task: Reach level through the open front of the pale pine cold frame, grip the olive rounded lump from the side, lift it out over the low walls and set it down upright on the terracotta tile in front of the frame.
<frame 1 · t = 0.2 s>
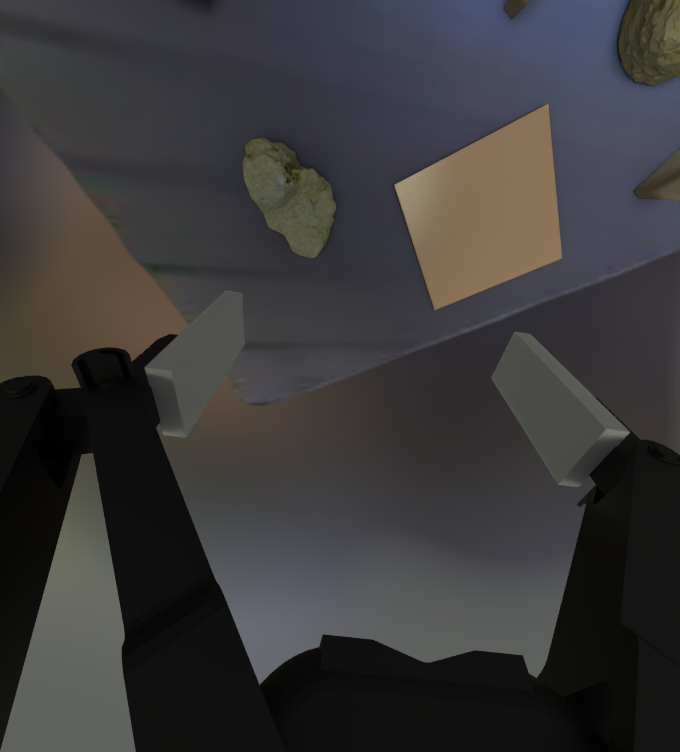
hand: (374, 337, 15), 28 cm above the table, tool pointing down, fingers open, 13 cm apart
rock: (292, 202, 37), on the table
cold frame: (668, 16, 28), on the table
olive rounded lump: (665, 18, 28), on the table
terracotta tile: (479, 222, 37), on the table
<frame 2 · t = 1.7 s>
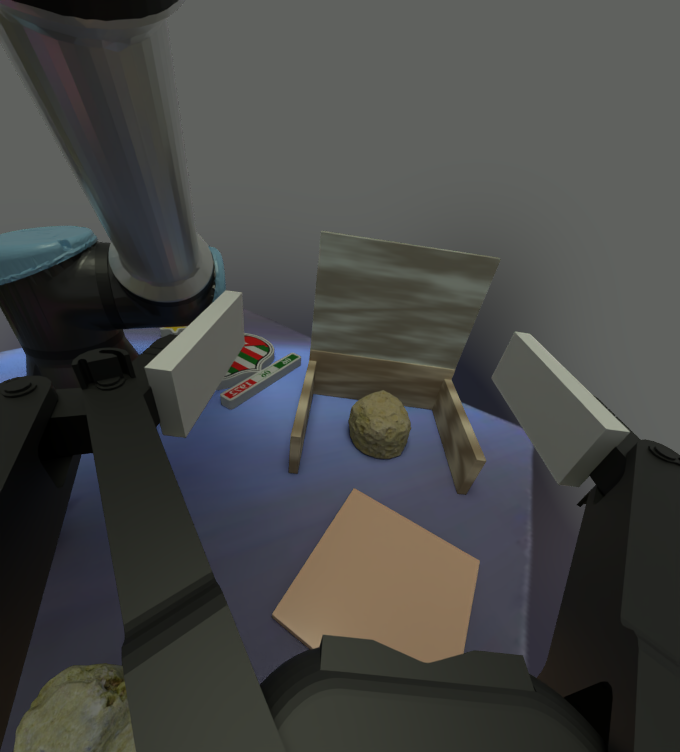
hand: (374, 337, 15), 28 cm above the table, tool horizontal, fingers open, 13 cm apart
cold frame: (375, 437, 49), on the table
olive rounded lump: (374, 439, 49), on the table
decorative emblem: (214, 357, 62), on the table
terracotta tile: (384, 588, 31), on the table
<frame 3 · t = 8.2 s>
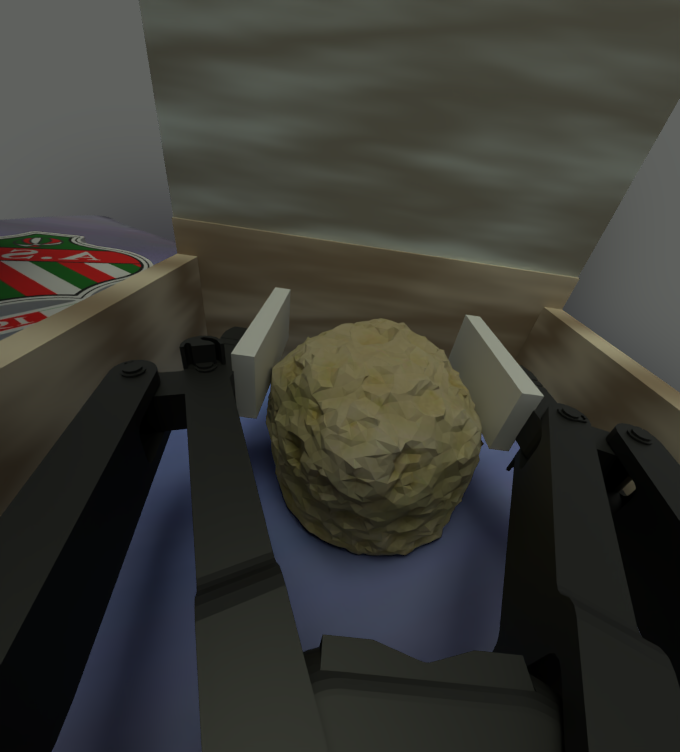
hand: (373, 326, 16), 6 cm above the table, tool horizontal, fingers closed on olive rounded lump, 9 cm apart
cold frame: (355, 471, 16), on the table
olive rounded lump: (356, 474, 16), on the table, touching gripper
decorative emblem: (22, 285, 29), on the table
when the fingers open (8 cm above the table, at t = 14.2 s): olive rounded lump drops 1 cm, resting on terracotta tile.
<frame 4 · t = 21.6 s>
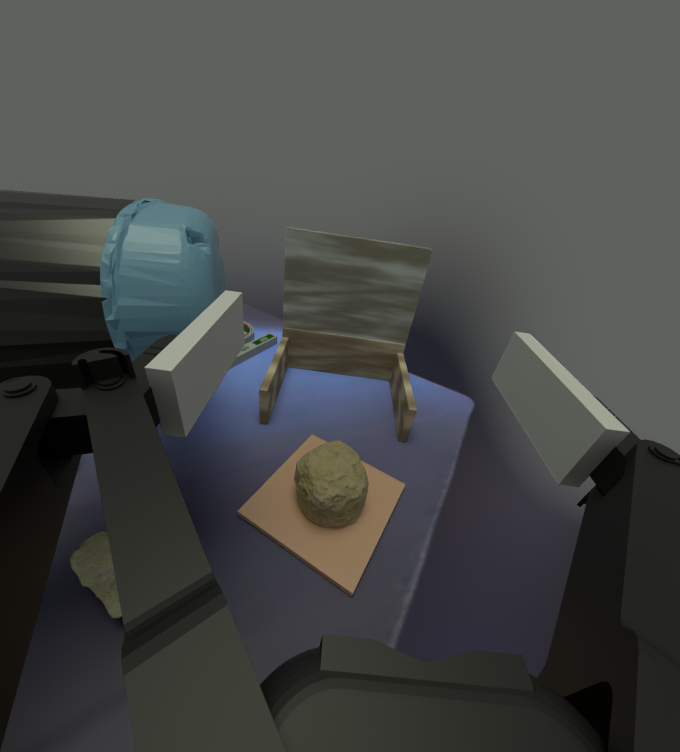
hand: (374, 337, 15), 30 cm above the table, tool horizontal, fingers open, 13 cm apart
rock: (144, 589, 31), on the table
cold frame: (336, 400, 58), on the table
olive rounded lump: (328, 498, 41), point 1 cm above the table, touching terracotta tile
decorative emblem: (201, 337, 72), on the table
terracotta tile: (327, 500, 41), on the table
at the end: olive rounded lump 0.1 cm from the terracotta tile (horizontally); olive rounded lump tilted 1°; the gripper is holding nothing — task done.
